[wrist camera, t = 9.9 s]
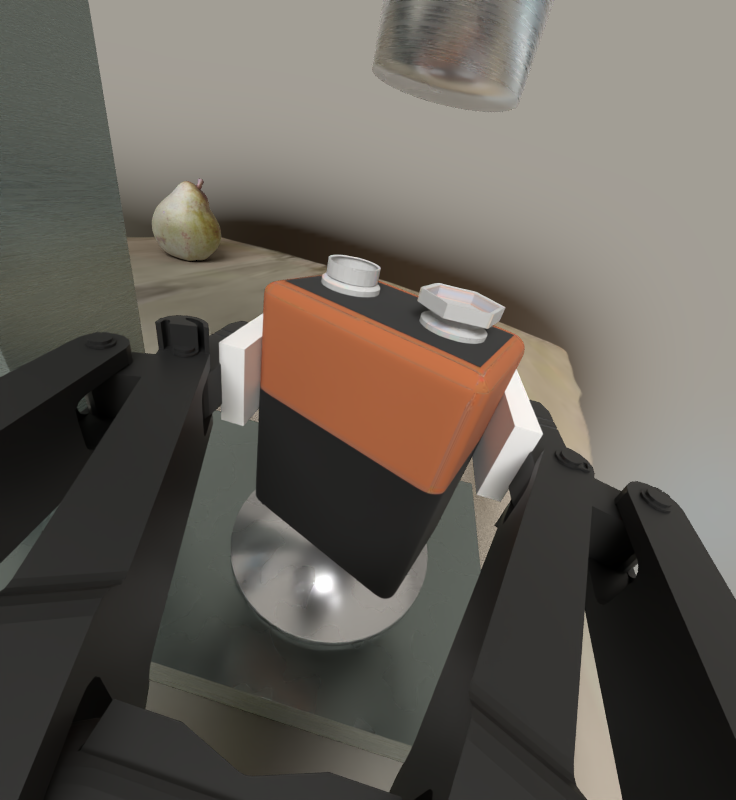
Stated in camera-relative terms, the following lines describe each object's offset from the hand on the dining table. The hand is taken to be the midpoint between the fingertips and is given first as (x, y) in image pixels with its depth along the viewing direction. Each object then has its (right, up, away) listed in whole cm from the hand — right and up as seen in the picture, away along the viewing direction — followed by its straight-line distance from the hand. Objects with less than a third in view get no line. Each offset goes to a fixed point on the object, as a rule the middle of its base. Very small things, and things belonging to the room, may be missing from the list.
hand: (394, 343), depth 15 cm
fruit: (-32, +22, +43) cm, 58 cm away
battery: (-2, -8, -1) cm, 8 cm away
